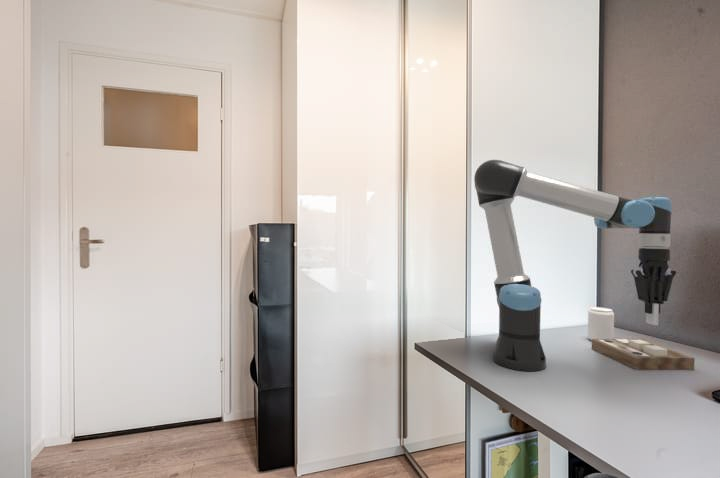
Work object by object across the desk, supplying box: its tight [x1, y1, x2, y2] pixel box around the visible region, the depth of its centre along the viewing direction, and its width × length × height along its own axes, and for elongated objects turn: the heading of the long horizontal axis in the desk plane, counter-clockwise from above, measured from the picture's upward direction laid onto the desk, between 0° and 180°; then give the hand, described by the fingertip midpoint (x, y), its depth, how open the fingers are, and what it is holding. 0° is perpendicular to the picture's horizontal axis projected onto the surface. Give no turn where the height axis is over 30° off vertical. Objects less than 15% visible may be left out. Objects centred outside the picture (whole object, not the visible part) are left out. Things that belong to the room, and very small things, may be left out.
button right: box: [643, 345, 667, 357], centre depth 110 cm, size 4×4×3 cm
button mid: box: [628, 340, 651, 350], centre depth 116 cm, size 4×4×3 cm
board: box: [591, 338, 695, 371], centre depth 116 cm, size 18×19×4 cm
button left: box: [614, 338, 628, 344], centre depth 122 cm, size 4×4×3 cm
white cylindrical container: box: [587, 306, 615, 341], centre depth 135 cm, size 8×8×12 cm
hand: (652, 323), depth 111 cm, fingers closed
